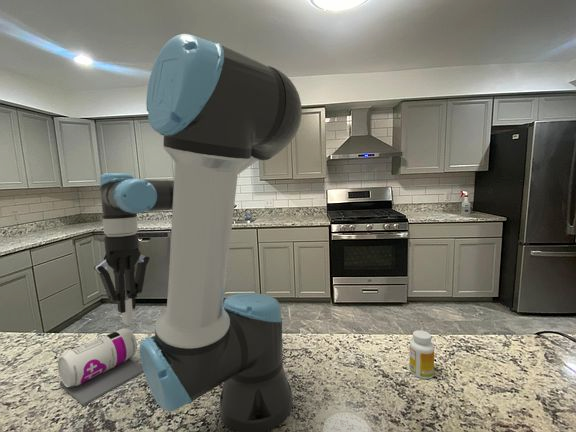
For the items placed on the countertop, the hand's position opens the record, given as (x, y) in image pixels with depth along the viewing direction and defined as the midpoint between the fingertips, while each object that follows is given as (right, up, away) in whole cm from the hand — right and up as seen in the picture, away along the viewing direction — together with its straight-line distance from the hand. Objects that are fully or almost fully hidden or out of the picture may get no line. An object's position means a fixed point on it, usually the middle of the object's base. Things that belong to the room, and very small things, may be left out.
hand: (127, 322), depth 73 cm
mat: (-3, -12, -4) cm, 13 cm away
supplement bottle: (+75, -10, -6) cm, 76 cm away
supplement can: (-1, -7, +4) cm, 8 cm away
